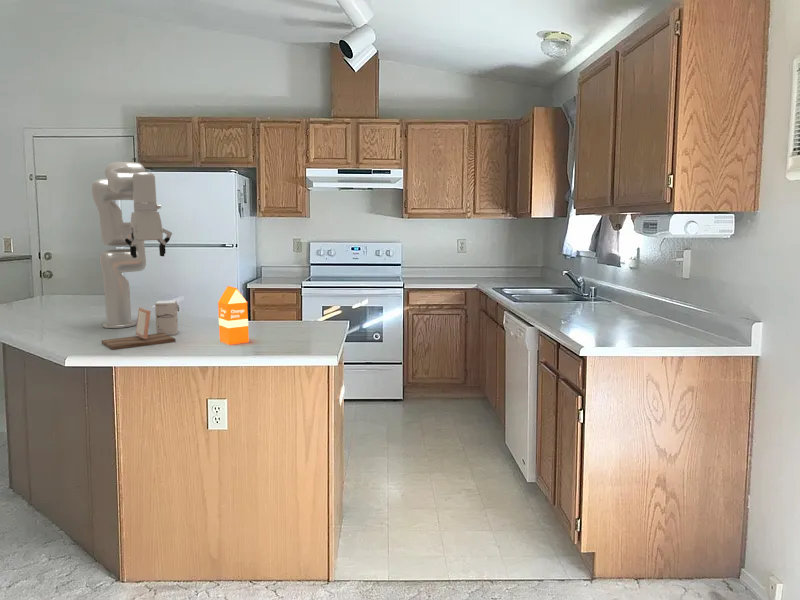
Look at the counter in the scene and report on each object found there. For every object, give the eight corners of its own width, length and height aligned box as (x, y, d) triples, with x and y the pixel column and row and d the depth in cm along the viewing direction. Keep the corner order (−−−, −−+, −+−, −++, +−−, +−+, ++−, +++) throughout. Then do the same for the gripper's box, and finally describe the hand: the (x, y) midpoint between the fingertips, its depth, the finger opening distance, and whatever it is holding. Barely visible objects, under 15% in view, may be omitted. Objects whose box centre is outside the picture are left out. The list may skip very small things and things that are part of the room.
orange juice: (228, 344, 239) (226, 288, 236) (219, 340, 246) (216, 286, 243) (249, 342, 243) (247, 287, 240) (239, 338, 250) (237, 284, 247)
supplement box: (156, 335, 256) (154, 303, 254) (159, 332, 263) (157, 300, 262) (176, 335, 258) (174, 302, 256) (178, 331, 265) (176, 299, 263)
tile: (139, 334, 248) (135, 334, 247) (142, 307, 248) (138, 307, 247) (147, 338, 240) (143, 338, 239) (150, 311, 240) (147, 310, 239)
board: (101, 343, 242) (101, 340, 242) (163, 336, 256) (162, 333, 255) (111, 349, 231) (111, 346, 231) (175, 341, 244) (175, 338, 244)
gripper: (166, 208, 244) (169, 255, 247) (116, 208, 234) (120, 257, 236) (173, 208, 238) (176, 256, 241) (122, 208, 228) (126, 258, 230)
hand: (148, 256), depth 239 cm, fingers open, 9 cm apart
